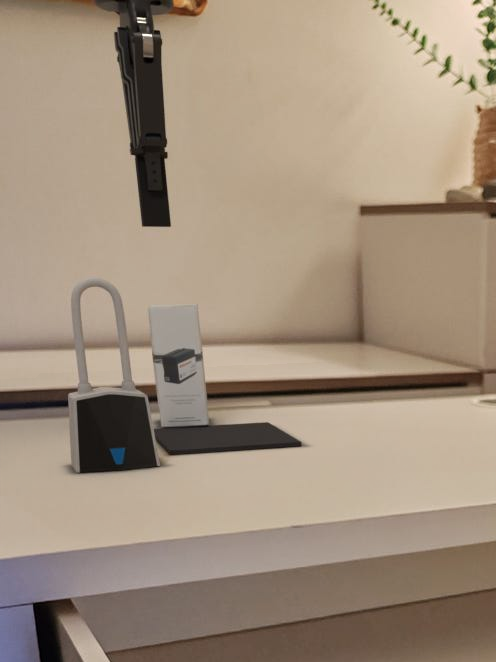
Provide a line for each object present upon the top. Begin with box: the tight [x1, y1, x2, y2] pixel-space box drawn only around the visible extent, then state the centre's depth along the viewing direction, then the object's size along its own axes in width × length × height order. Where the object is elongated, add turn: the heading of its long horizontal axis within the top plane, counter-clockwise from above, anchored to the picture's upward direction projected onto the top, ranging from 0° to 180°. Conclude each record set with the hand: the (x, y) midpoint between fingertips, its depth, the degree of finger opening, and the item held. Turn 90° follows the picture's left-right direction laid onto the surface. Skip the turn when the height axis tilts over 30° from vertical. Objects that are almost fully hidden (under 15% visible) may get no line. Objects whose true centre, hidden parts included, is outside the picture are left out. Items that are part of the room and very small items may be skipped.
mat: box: [154, 421, 302, 456], centre depth 100 cm, size 13×12×1 cm
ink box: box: [147, 303, 210, 428], centre depth 105 cm, size 9×5×12 cm, turn 16°
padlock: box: [67, 277, 161, 474], centre depth 84 cm, size 7×4×15 cm, turn 117°
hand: (156, 226), depth 107 cm, fingers closed
